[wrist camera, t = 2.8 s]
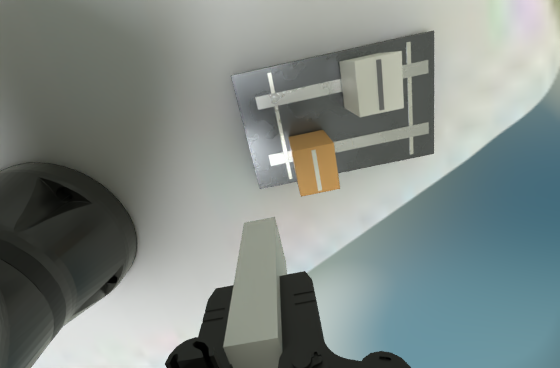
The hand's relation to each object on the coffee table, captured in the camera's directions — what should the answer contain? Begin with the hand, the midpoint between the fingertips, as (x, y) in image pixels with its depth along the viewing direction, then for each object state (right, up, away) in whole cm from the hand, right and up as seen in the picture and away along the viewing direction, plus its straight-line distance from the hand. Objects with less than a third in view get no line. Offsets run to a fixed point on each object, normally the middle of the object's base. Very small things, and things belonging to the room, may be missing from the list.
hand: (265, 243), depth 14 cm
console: (+6, +9, +12) cm, 16 cm away
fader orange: (+3, +6, +11) cm, 13 cm away
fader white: (+7, +11, +9) cm, 16 cm away
